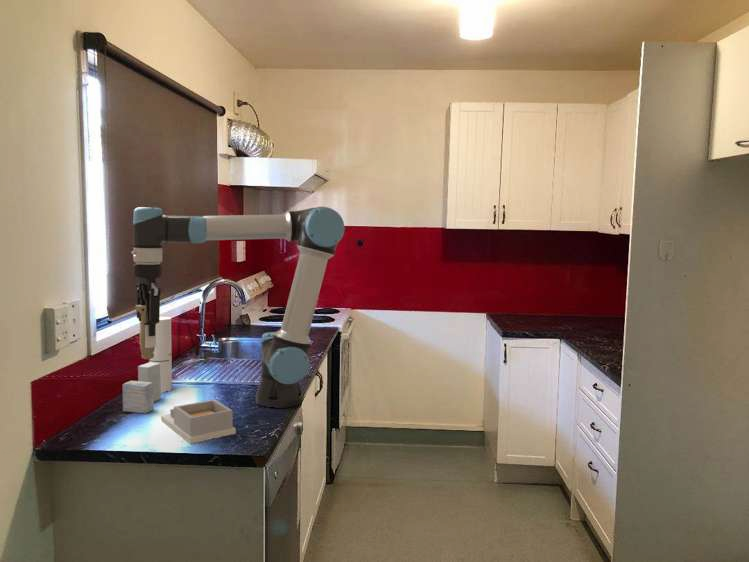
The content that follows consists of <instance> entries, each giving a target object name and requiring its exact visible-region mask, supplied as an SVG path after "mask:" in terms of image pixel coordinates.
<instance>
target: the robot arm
mask: <svg viewBox="0 0 749 562" xmlns="http://www.w3.org/2000/svg"><path fill="white" fill-rule="evenodd" d="M132 216H133V220H132V243H133V246H132V247H133V249H132V251H131V255H133V256H132V257H133V262H134V264H133V267H132V270H133V271H132V275H133V277H134V278H138V279H139V282H138V283H135V291H136V292H135V293H136V294H135V297H136V298H135V299H136V303H135V304H136V305H146V319H147V323H144V325H145V348H152V347H156V324H157V323H159V317H161V316H160V315H161V314H160V313H161V312H160V310H161V309H160V306H161V305H160V304H161V303H160V302H161V301H160V300H161V291H162V289H161V288H160V287H158V284H157V278H161V277H162V276H163V265H162V264H161V263H162V262H163V243H184V244H185V243H187V244H189V243H190V244H204V243H206V242H207V241H226V240H227V241H229V240H230V241H233V240H235V241H236V240H237V241H238V240H265V239H266V240H269V239H270V240H271V239H272V240H274V239H285V240H286V241H287V242H297V243H296V247H297V249H298V252H299V257H298V260H297V265H296V268H295V272H294V275H293V276H294V277H293V280H292V284H291V288H290V291H289V295H288V299H287V303H286V307H285V312H284V315H283V319H282V323H281V327H280V329H279V330H277V331H271V332H269V331H268V332H265V333H263V334H262V335H261V340H260V344H261V367H260V369H261V371H260V372H261V373H260V375H261V378H260V382H259V384H258V387H257V391H256V393H255V403H256V405H258V404H259V405H258V406H260V405H261V406H260V407H263V406H266V407H265V408H269V407H275V408H274V409H280V408H281V409H283V408H284V409H285V408H291V407H295V406H298V405H300V404H301V403H302V402H303V392H302V388H301V386H300V381H301V380H303V379H304V378H305V377H306V376H307V374H308V372H309V369H310V358H309V354H310V351H311V347H312V342H313V341H312V340H311V338H310V337H309V334H310V331H311V327H312V322H313V319H314V314H315V312H316V311H315V310H316V308H317V304H318V300H319V295H320V291H321V288H322V283H323V280H324V275H325V272H326V268H327V265H328V260H330V259H331V258H333V257H334V256H335V252H336V250H337V246H338V243H340V241H341V240H342V238H343V236H344V234H345V223H344V220H343V217H342V216H341V215H340V213H339V212H338V211H337V210H335V209H334V208H330V207H329V206H323V205H322V206H316V207H309V208H305V209H301V210H288V211H286V212H285V213H284V214H247V215H246V214H242V215H240V214H239V215H237V214H235V215H167V214H164V213H163V210H162V208H160V207H144V206H139V207H136V208H135V209H134V210H133V215H132ZM136 319H138V322H139V332H140V331H141V313H139V312H138V311H136Z"/></svg>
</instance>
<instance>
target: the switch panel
mask: <svg viewBox="0 0 749 562" xmlns="http://www.w3.org/2000/svg"><path fill="white" fill-rule="evenodd" d="M206 411H212V412H214V413H209V414H204V415H198V416H193V417H192V416H191V415H190V414H195V413H200V412H206ZM233 411H234V410H233V409H231V408H229V407H228V406H227V405H225V404H223V403H221V402H219V401H218V400H216V399H209V400H204V401H198V402H194V403H193V402H191V403H187V404H186V403H185V404H181V405H177V406H176V405H175V406H173V408H171V409H170V411H169V412H170V413H168V414H163V415H160V420H161V422H162V423H163V424H164V425H166V426H168V428H169V429H171V430H172V431H174V433H176V434H177V435H179V436H180V437H181V438H182V439H183V440H185V441H186V442H187V443H188V444H190V445H191V444H195V443H200V442H204V441H210V440H213V438H214V439H218V438H222V436H223V437H225V436H226V437H227V436H232V435H236V434H237V433H236V432H237V429H236V427H235V426H233V415H234V414H233Z"/></svg>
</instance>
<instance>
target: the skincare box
mask: <svg viewBox="0 0 749 562" xmlns="http://www.w3.org/2000/svg"><path fill="white" fill-rule="evenodd" d="M137 372H138V373H137V378H138V379H137V381H142V382H152V383H153V401H154V402H156V401H158V400H160V398H162V393H161V380H160V363H153V362H149V361H148V362H147V363H144V364H140V365H138V366H137Z"/></svg>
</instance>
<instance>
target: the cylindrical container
mask: <svg viewBox="0 0 749 562" xmlns="http://www.w3.org/2000/svg"><path fill="white" fill-rule="evenodd" d="M153 353H154V357H153V358H152V359H148V360H149V361H148V363H149V362H153V363H160V380H161V392H164V393H167V392H166V391H168V392H171V391H172V390H171V389H172V388H173V382H172V378H173V376H172V375H173V373H172V370H173V369H172V368H173V366H172V365H173V364H172V362H173V361H172V357H173V356H172V355H173V354H172V317H170V316H160V317H159V323H157V324H156V347H155V349H154V352H153ZM170 390H171V391H170Z"/></svg>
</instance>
